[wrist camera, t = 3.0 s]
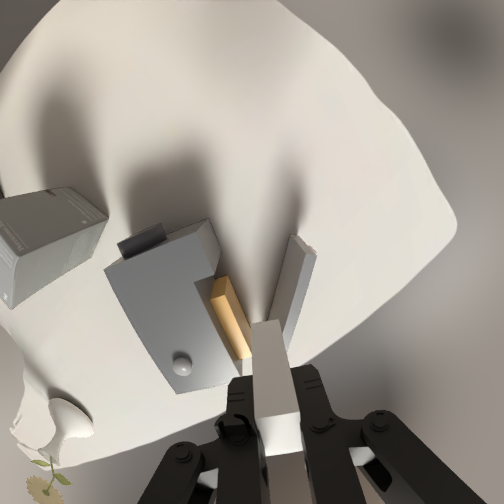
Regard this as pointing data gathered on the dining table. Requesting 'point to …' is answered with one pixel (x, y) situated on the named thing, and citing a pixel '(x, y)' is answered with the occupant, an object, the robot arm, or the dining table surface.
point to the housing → (182, 305)
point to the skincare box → (44, 239)
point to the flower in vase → (58, 448)
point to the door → (292, 286)
